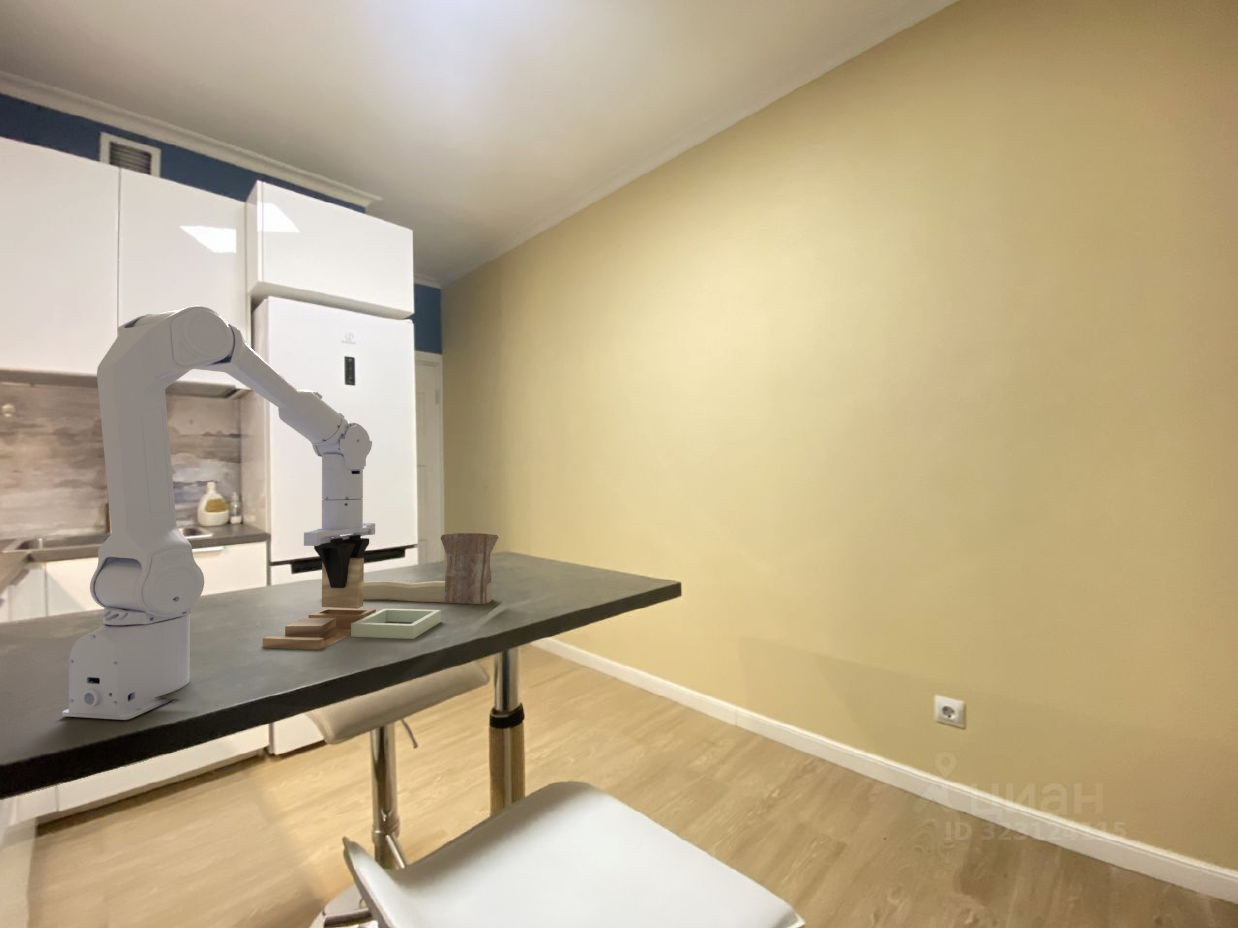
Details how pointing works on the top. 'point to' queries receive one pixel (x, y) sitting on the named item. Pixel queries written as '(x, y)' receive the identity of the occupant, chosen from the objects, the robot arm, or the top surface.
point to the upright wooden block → (351, 592)
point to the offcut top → (310, 626)
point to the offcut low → (325, 635)
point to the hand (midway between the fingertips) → (342, 586)
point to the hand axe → (447, 575)
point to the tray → (380, 629)
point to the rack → (343, 630)
